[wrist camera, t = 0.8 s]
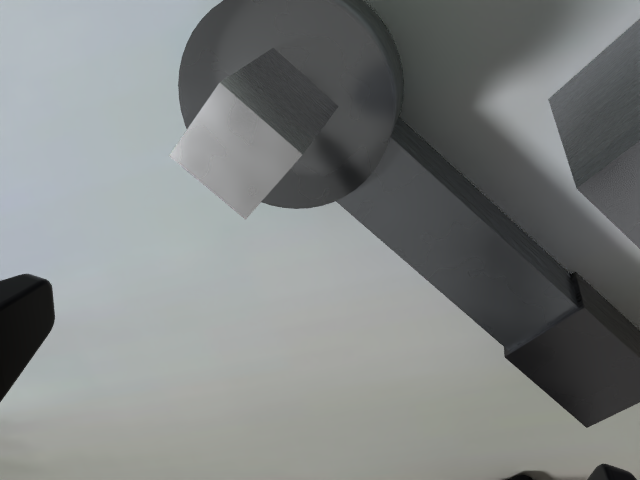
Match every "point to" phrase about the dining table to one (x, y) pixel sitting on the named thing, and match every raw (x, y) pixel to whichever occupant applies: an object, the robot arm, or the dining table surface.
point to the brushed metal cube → (606, 131)
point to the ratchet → (386, 184)
